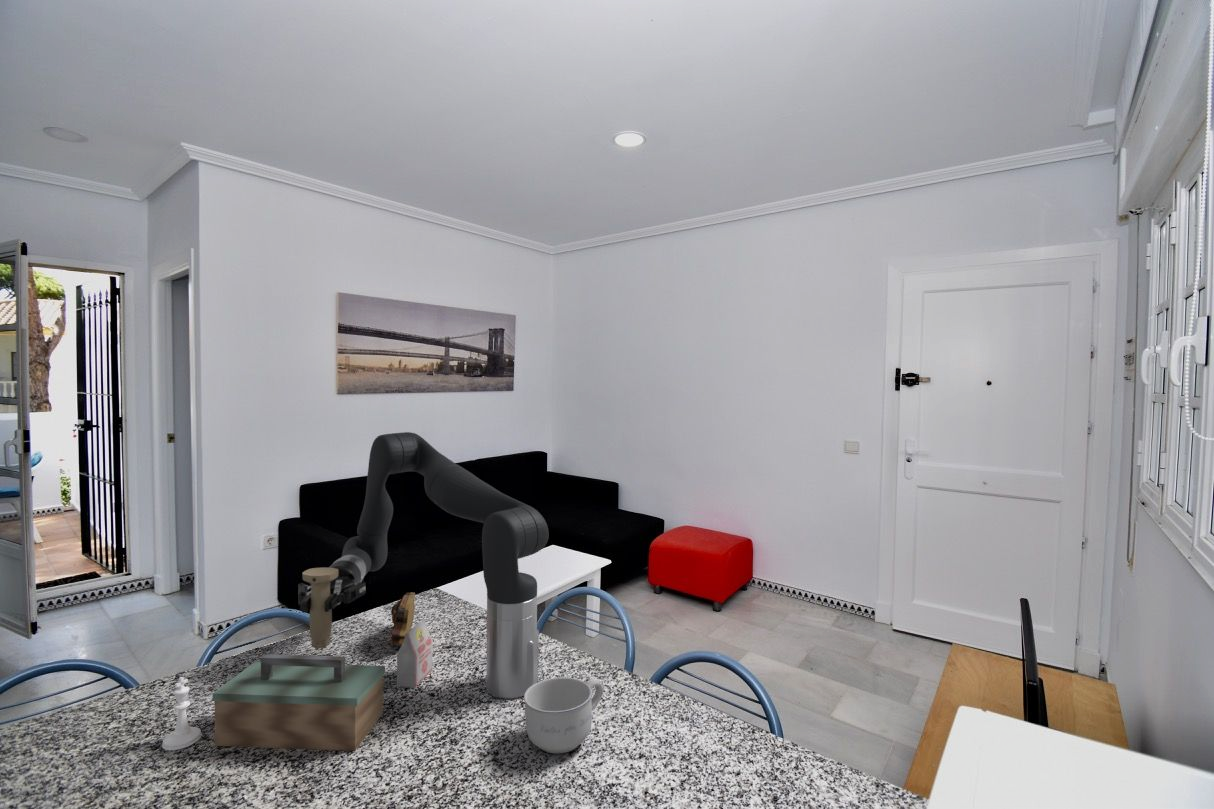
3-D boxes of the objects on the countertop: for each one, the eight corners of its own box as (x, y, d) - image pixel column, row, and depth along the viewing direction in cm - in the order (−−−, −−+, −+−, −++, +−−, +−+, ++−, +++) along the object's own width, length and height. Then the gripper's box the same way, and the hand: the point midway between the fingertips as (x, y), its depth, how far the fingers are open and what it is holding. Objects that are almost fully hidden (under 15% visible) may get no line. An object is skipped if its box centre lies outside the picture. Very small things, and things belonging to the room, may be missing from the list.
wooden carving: (395, 626, 131) (395, 584, 131) (415, 624, 132) (416, 582, 132) (387, 660, 115) (387, 611, 115) (411, 657, 117) (411, 609, 116)
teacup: (537, 772, 83) (538, 718, 82) (514, 731, 92) (514, 683, 92) (621, 745, 89) (622, 695, 89) (591, 709, 99) (591, 664, 98)
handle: (330, 652, 110) (330, 576, 109) (298, 651, 110) (297, 575, 109) (342, 640, 115) (342, 567, 114) (311, 639, 115) (311, 567, 114)
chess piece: (209, 734, 90) (208, 672, 90) (176, 753, 85) (175, 688, 85) (187, 728, 92) (186, 667, 91) (154, 746, 87) (153, 682, 87)
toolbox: (403, 688, 105) (403, 625, 104) (357, 750, 87) (357, 675, 86) (283, 684, 105) (283, 621, 105) (213, 745, 87) (212, 670, 87)
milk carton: (397, 685, 106) (397, 633, 105) (414, 668, 112) (415, 618, 112) (415, 687, 105) (415, 634, 105) (432, 669, 112) (432, 619, 111)
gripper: (310, 560, 125) (275, 589, 108) (377, 558, 127) (354, 587, 110) (310, 594, 125) (276, 628, 108) (377, 591, 127) (354, 625, 110)
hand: (315, 607), depth 109 cm, fingers closed on handle, 3 cm apart
